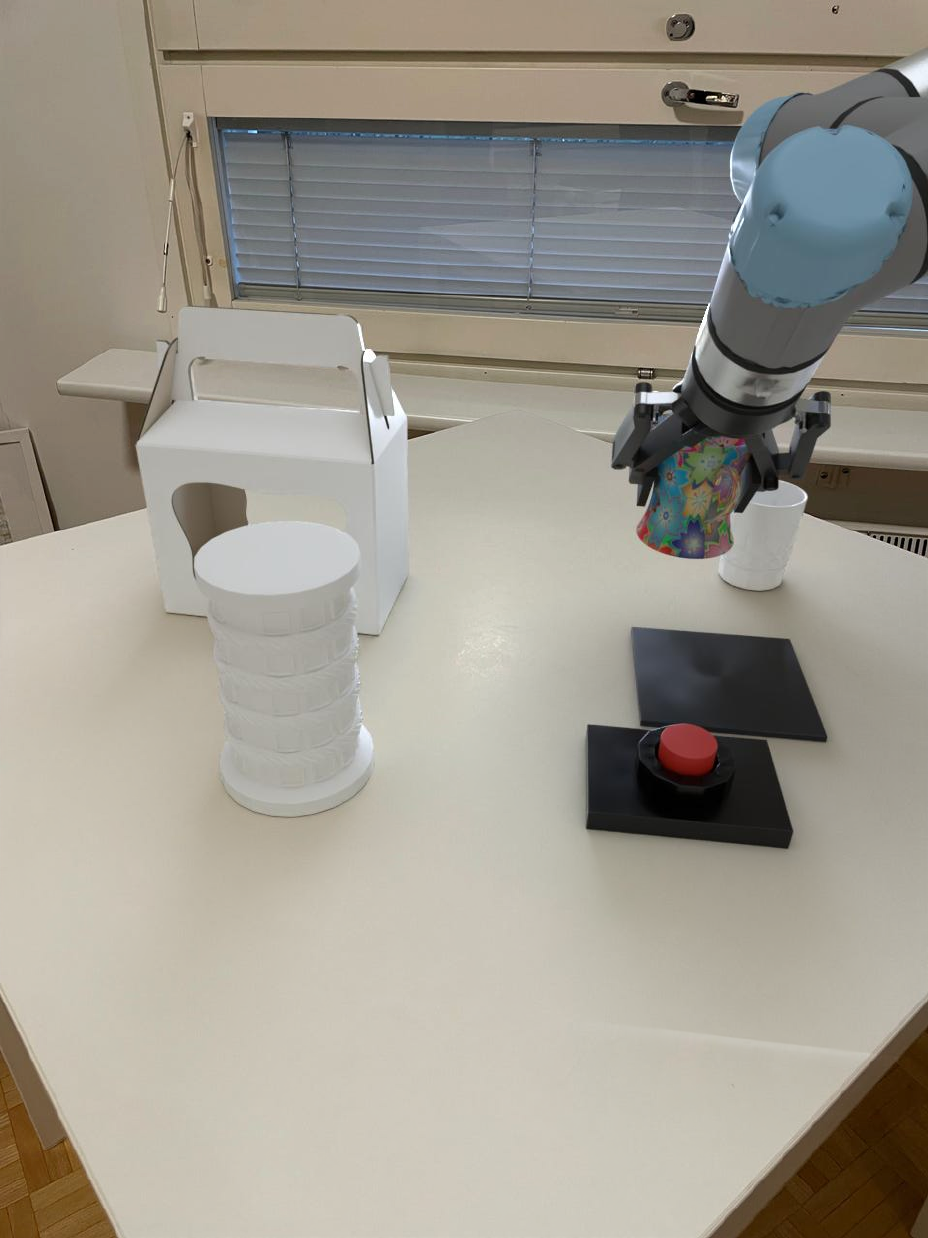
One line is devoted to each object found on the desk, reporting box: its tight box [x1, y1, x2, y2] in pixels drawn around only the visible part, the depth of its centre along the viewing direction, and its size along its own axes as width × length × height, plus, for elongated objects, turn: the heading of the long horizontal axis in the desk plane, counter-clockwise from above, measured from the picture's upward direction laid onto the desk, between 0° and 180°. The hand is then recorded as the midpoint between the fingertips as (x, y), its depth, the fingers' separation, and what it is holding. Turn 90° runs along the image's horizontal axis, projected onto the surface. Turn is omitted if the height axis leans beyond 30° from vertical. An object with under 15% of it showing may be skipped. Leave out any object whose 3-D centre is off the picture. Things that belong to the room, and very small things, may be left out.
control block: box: [584, 723, 794, 850], centre depth 64 cm, size 14×10×4 cm
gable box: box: [134, 305, 410, 636], centre depth 83 cm, size 22×13×28 cm, turn 81°
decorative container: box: [194, 520, 375, 818], centre depth 62 cm, size 12×12×18 cm
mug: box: [635, 412, 752, 560], centre depth 74 cm, size 12×9×11 cm
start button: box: [658, 724, 718, 776], centre depth 63 cm, size 4×4×2 cm
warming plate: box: [630, 626, 829, 743], centre depth 78 cm, size 15×15×1 cm
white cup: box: [717, 479, 809, 592], centre depth 93 cm, size 8×8×10 cm
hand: (689, 495), depth 77 cm, fingers closed on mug, 8 cm apart
